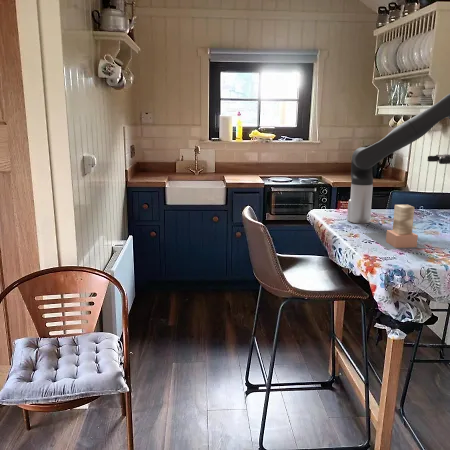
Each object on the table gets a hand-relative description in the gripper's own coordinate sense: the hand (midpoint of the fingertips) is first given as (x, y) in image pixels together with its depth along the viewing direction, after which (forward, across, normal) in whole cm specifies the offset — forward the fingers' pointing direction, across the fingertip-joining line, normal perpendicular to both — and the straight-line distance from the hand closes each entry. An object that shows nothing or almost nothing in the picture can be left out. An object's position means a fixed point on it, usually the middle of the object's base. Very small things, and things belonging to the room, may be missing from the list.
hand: (433, 159), depth 178 cm
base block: (+18, +15, +29) cm, 37 cm away
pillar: (+18, +15, +25) cm, 34 cm away
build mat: (+18, +9, +30) cm, 36 cm away
